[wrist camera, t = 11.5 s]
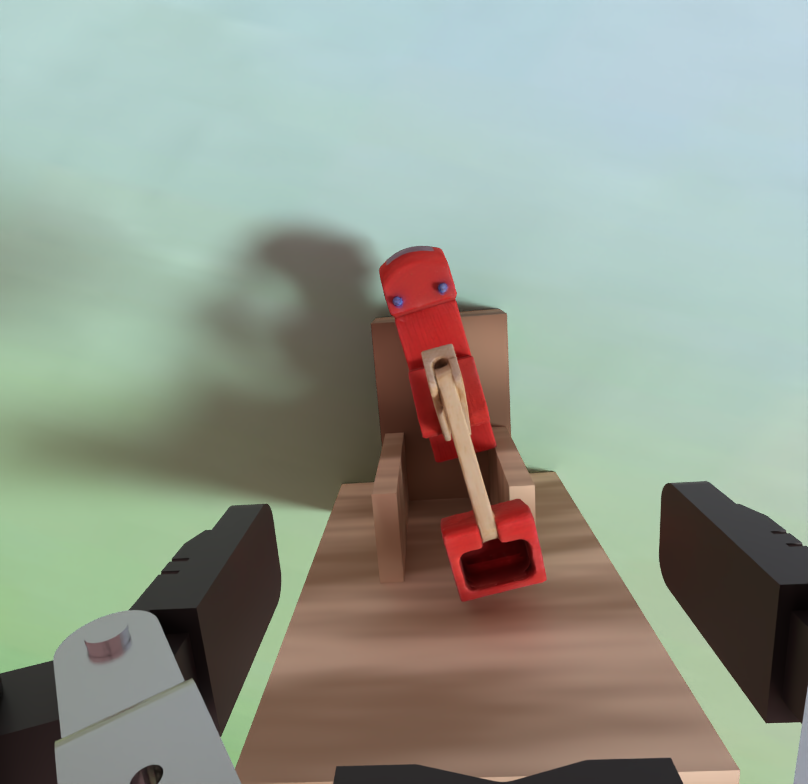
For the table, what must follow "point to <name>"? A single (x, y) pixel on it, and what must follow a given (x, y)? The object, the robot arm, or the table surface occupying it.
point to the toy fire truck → (457, 425)
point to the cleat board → (465, 626)
